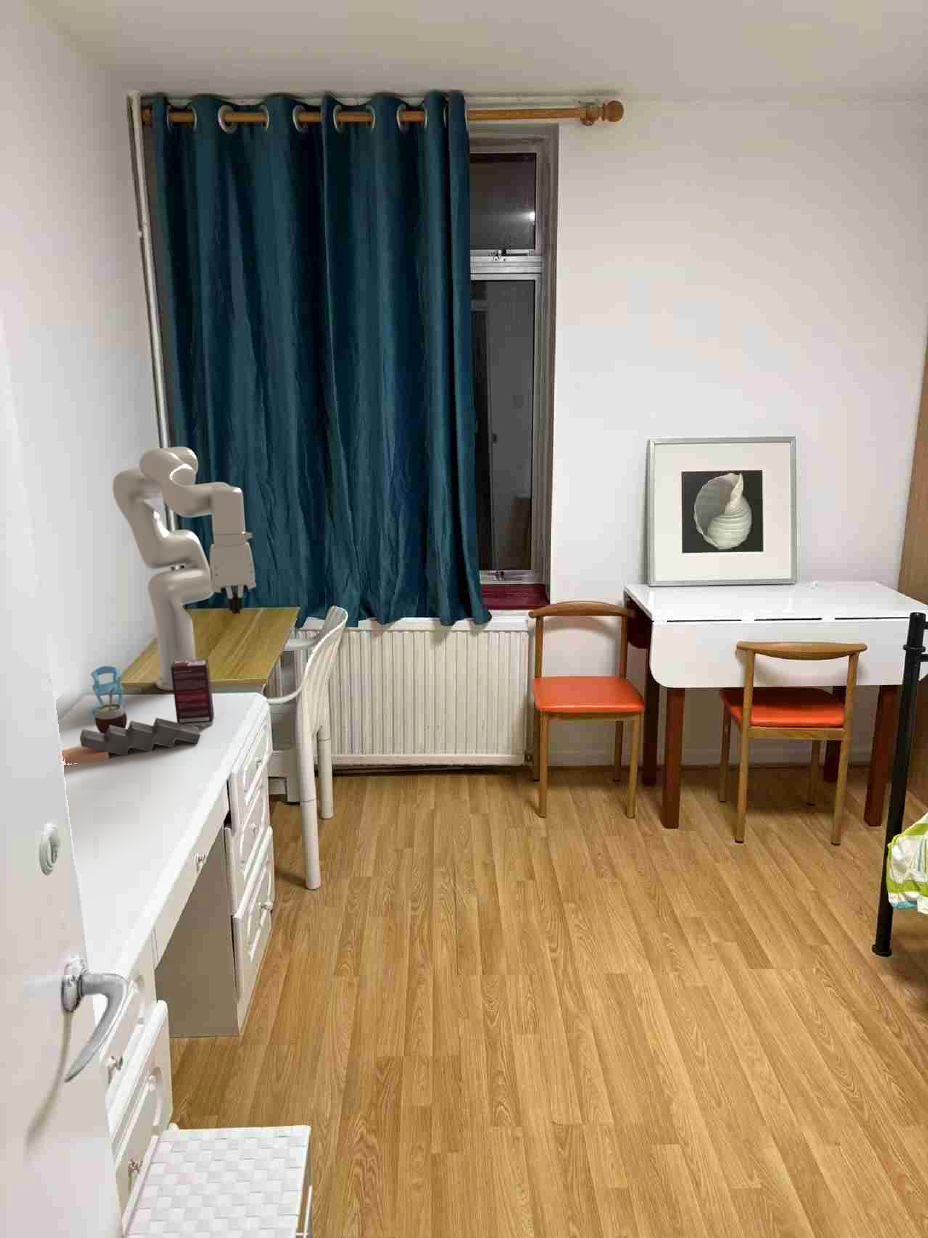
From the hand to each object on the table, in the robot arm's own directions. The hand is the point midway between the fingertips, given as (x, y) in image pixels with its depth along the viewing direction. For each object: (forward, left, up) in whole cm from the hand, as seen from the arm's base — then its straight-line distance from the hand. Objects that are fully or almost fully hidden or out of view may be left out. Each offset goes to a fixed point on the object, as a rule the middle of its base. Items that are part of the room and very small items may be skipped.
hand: (235, 612), depth 235 cm
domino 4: (+11, -13, -26) cm, 31 cm away
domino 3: (+11, -19, -26) cm, 34 cm away
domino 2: (+11, -23, -26) cm, 37 cm away
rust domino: (+11, -33, -26) cm, 44 cm away
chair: (-15, -31, -27) cm, 44 cm away
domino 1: (+11, -29, -26) cm, 40 cm away
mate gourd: (+3, -31, -27) cm, 41 cm away
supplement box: (0, -12, -27) cm, 30 cm away
